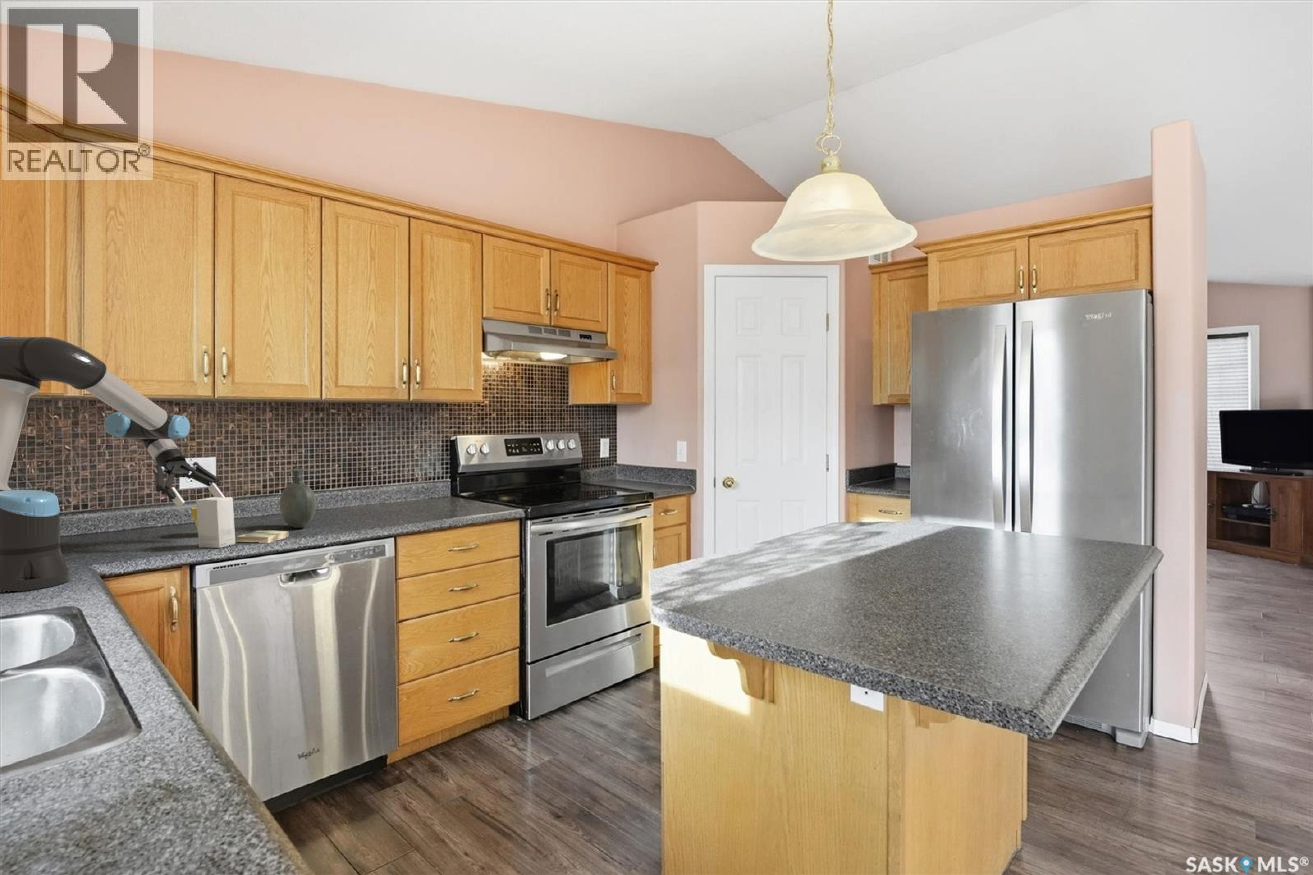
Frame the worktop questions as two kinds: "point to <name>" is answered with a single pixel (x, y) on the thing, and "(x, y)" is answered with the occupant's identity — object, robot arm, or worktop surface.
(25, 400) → the robot arm
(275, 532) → the birch board
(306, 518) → the flask
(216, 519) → the skincare box
